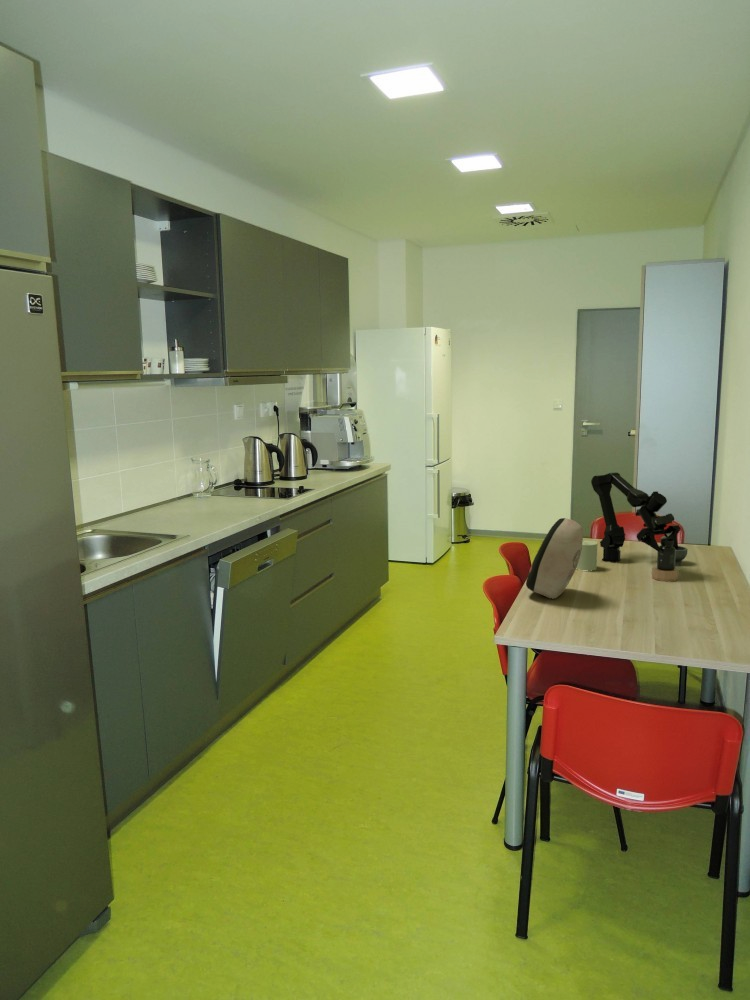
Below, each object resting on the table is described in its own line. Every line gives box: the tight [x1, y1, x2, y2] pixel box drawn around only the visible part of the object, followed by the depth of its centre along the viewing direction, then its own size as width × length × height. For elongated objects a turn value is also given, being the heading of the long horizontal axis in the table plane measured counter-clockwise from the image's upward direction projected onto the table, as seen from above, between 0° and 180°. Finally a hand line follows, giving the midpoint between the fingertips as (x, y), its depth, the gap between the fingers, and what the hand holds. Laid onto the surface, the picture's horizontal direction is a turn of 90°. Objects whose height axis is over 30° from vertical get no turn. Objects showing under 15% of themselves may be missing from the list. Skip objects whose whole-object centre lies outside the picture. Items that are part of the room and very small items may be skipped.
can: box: [576, 539, 599, 572], centre depth 310 cm, size 9×9×12 cm
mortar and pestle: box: [660, 535, 688, 566], centre depth 317 cm, size 11×9×12 cm
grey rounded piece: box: [525, 517, 584, 600], centre depth 272 cm, size 22×20×30 cm
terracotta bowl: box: [651, 565, 680, 582], centre depth 294 cm, size 10×10×4 cm
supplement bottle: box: [656, 539, 676, 570], centre depth 293 cm, size 7×7×12 cm
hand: (668, 550), depth 291 cm, fingers open, 9 cm apart
